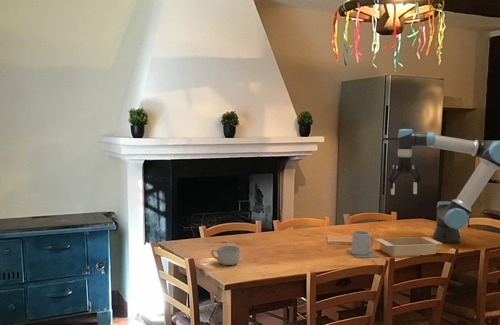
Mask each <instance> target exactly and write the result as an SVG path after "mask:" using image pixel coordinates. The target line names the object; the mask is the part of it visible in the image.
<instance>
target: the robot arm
mask: <svg viewBox="0 0 500 325" xmlns="http://www.w3.org/2000/svg"><path fill="white" fill-rule="evenodd" d="M397 134H398V135H397V136H398V137H397V165H395V164H393V165H392V166H391V169H390V172H389V173H388V176H387V178H386V182H387V183H389V189H390V195H394V196H395V190H396V189H395V186H396V185H395V181H396V180H397V179H398V177H400V175H401V174H408V175H409V176H410V178H412V180H413V184H412V186H413V187H412V193H413V195H417V194H418V188H419V184H420V182H422V181H423V179H422V177H421V175H420V173H419V170H418V165H416V164H413V165H412V163H413V162H412V160H413V157H412V156H413V147H426V148H427V147H429V148H433V149H439V150H445V151H451V152H457V153H463V154H468V155H471V156H472V157H477V158H479V161H480V162H479V164H478V165H477V167H476V168H475V170H474V171H473V172H472V174H471V176H470V177H469V179H468V181H467V182H466V183H465V185H464V186H463V188H462V189H461V190H460V193H459V194H458V195H457V197H456V198H455V199H451V201H438V202H437V203H436V204H437V205H436V226H435V229H434V232H433V234H432V239H433V240H436V241H438V242H440V243H443V244H444V243H445V244H458V243H461V240H462V238H461V234H460V232H459V230H460V229H463V228H464V227H466V226H467V224H468V222H469V216H470V214H471V213H472V206H473V204H474V203H475V202H476V200H477V199H478V198H479V196H480V194H481V193H482V191H483V190H484V189H485V187H486V185H487V184H488V182H489V180H490V179H491V178H492V176H493V175H494V173H495V172H496V171H497V170H500V140H494V139H493V140H482V139H481V140H480V139H475V140H470V139H469V140H468V139H463V138H457V137H450V136H445V135H444V136H443V135H439V134H435V133H434V132H419V131H416V132H415V131H414V132H413V129H412V128H401V129H400V128H399V130H398V133H397ZM412 170H413V171H412Z"/></svg>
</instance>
